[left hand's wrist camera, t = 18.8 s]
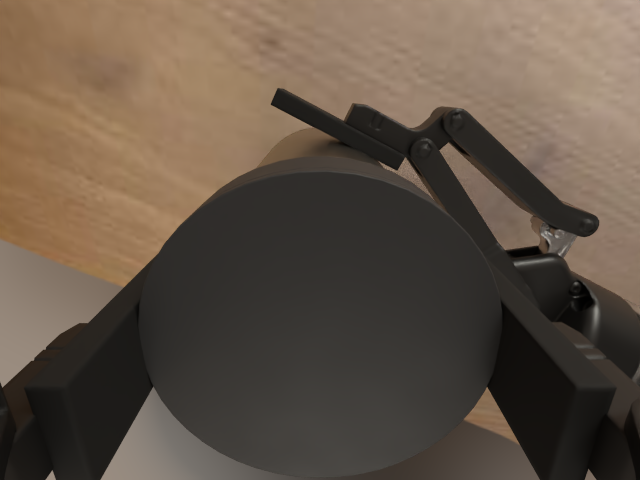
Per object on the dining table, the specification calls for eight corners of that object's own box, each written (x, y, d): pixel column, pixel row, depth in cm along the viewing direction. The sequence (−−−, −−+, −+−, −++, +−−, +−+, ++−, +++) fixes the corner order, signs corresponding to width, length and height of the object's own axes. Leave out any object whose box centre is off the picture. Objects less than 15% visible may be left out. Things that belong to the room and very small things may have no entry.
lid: (360, 459, 15) (367, 517, 13) (121, 348, 13) (84, 396, 11) (537, 263, 12) (583, 299, 10) (260, 83, 10) (244, 81, 8)
